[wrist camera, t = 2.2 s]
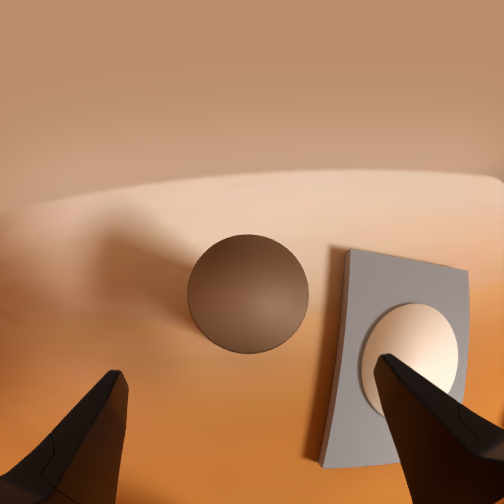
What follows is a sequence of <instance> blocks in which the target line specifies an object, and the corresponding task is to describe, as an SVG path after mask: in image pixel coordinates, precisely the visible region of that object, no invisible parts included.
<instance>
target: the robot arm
mask: <svg viewBox="0 0 504 504" xmlns="http://www.w3.org/2000/svg"><path fill="white" fill-rule="evenodd" d="M373 374H374V379H375V383H376V387H377V391H378V395H379V399H380V403H381V407H382V410H383V413H384V416H385V419H386V422H387V424H388V427H389V430H390V433H391V436H392V439H393V442H394V445H395V447H396V450H397V453H398V456H399V459H400V463H401V466H402V469H403V472H404V475H405V478H406V481H407V485H408V488H409V491H410V495H411V498H412V502H413V504H504V429H502V428H500V427H498V426H496V425H495V424H493V423H491V422H489V421H488V420H486V419H484V418H482V417H481V416H479V415H477V414H476V413H474V412H473V411H471V410H470V409H468V408H467V407H465V406H464V405H462V404H461V403H460V402H458V401H457V400H455V399H454V398H452V397H451V396H450V395H448V394H447V393H446V392H444V391H443V390H441V389H440V388H439V387H437V386H436V385H434V384H433V383H432V382H430V381H429V380H427V379H426V378H425V377H423V376H422V375H420V374H419V373H418V372H416V371H415V370H413V369H412V368H411V367H409V366H408V365H406V364H405V363H404V362H402V361H401V360H400V359H398V358H397V357H395V356H394V355H393V354H391V353H386V354H381V355H380V356H379V357H378V360H377V362H376V365H375V367H374V371H373ZM128 391H129V389H128V384H127V382H126V380H125V378H124V375H123V373H122V372H121V371H120V370H109V371H108V372H107V373H106V374H105V375H104V376H103V377H102V378H101V379H100V380H99V381H98V383H97V384H96V385H95V386H94V387H93V388H92V389H91V390H90V391H89V392H88V393H87V394H86V395H85V396H84V397H83V398H82V399H81V400H80V401H79V403H78V404H77V405H76V406H75V407H74V408H73V409H72V410H71V411H70V412H69V413H68V414H67V415H66V416H65V417H64V419H63V420H62V421H61V422H60V423H59V424H58V425H57V426H56V427H55V428H54V429H53V430H52V433H49V435H48V436H47V437H46V438H45V439H44V440H43V441H42V442H41V443H40V444H39V445H38V446H37V447H36V448H35V449H34V450H33V451H32V452H31V453H29V454H28V455H27V456H26V457H25V458H24V459H23V460H21V461H20V462H19V463H18V464H17V465H16V466H14V467H13V468H12V469H11V470H10V471H8V472H7V473H5V474H4V475H2V476H0V504H115V501H116V492H117V484H118V476H119V469H120V462H121V455H122V449H123V443H124V437H125V430H126V420H127V404H128Z"/></svg>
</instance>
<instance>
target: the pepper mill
mask: <svg viewBox="0 0 504 504" xmlns="http://www.w3.org/2000/svg"><path fill="white" fill-rule="evenodd" d="M308 298H309V291H308V283H307V279H306V275H305V273H304V270H303V268H302V266H301V264H300V263H299V261H298V260H297V259H296V257H295V256H294V255H293V254H292V253H291V252H290V251H289V250H288V249H287V248H286V247H284V246H283V245H281V244H280V243H278V242H276V241H274V240H272V239H269V238H267V237H263V236H259V235H237V236H233V237H229V238H226V239H224V240H221V241H219V242H218V243H216V244H214V245H213V246H212V247H210V248H209V249H208V250H207V251H206V252H205V253H204V254H203V255H202V256H201V257H200V259H199V260H198V261H197V263H196V265H195V266H194V268H193V271H192V273H191V276H190V279H189V283H188V305H189V309H190V312H191V315H192V317H193V320H194V322H195V323H196V325H197V327H198V328H199V329H200V331H201V332H202V333H203V334H204V335H205V336H206V337H207V338H208V339H209V340H210V341H212V342H213V343H214V344H216V345H218V346H220V347H221V348H223V349H226V350H229V351H232V352H236V353H243V354H256V353H261V352H265V351H269V350H272V349H274V348H276V347H278V346H280V345H281V344H283V343H284V342H286V341H287V340H288V339H289V338H290V337H291V336H292V335H293V334H294V333H295V332H296V331H297V329H298V328H299V326H300V325H301V323H302V321H303V319H304V317H305V314H306V311H307V306H308Z"/></svg>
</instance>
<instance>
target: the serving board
mask: <svg viewBox="0 0 504 504" xmlns="http://www.w3.org/2000/svg"><path fill="white" fill-rule="evenodd" d="M468 346H469V278H468V271H466V270H461V269H456V268H451V267H446V266H441V265H436V264H430V263H425V262H420V261H415V260H410V259H404V258H399V257H394V256H388V255H383V254H378V253H372V252H367V251H361V250H356V249H350V250H349V251H348V252H347V253H346V254H345V268H344V284H343V297H342V309H341V320H340V330H339V339H338V348H337V356H336V364H335V371H334V378H333V385H332V392H331V398H330V404H329V410H328V416H327V421H326V427H325V432H324V437H323V442H322V447H321V452H320V456H319V461H318V463H319V465H320V466H321V467H322V468H348V467H363V466H374V465H383V464H391V463H399V462H400V459H399V456H398V453H397V450H396V447H395V445H394V442H393V439H392V436H391V433H390V430H389V427H388V424H387V422H386V419H385V416H384V413H383V410H382V407H381V403H380V399H379V395H378V391H377V387H376V383H375V379H374V374H373V371H374V367H375V365H376V362H377V360H378V357H379V356H380V355H381V354H386V353H391V354H393V355H394V356H395V357H397V358H398V359H400V360H401V361H402V362H404V363H405V364H406V365H408V366H409V367H411V368H412V369H413V370H415V371H416V372H418V373H419V374H420V375H422V376H423V377H425V378H426V379H427V380H429V381H430V382H432V383H433V384H434V385H436V386H437V387H439V388H440V389H441V390H443V391H444V392H446V393H447V394H448V395H450V396H451V397H452V398H454V399H455V400H457V401H458V402H460V403H461V404H462V402H463V396H464V389H465V381H466V371H467V360H468Z"/></svg>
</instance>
